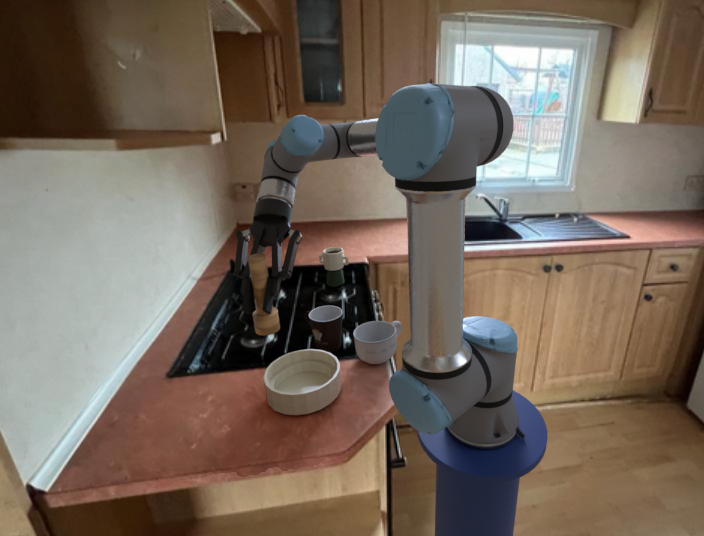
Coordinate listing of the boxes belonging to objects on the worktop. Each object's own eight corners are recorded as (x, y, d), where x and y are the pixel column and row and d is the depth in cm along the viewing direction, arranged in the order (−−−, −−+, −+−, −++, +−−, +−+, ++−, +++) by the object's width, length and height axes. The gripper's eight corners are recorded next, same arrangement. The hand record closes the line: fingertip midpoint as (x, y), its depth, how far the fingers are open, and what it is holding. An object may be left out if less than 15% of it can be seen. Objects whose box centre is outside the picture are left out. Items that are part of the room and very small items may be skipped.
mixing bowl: (355, 381, 96) (354, 360, 94) (309, 428, 82) (306, 404, 80) (301, 363, 103) (299, 342, 100) (251, 403, 89) (246, 380, 87)
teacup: (366, 375, 98) (365, 346, 95) (347, 353, 106) (345, 326, 104) (415, 356, 105) (415, 329, 102) (394, 337, 114) (393, 312, 111)
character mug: (353, 282, 148) (351, 248, 144) (346, 290, 142) (343, 255, 137) (325, 279, 151) (322, 246, 146) (317, 287, 144) (313, 252, 140)
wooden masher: (285, 326, 85) (275, 254, 79) (267, 337, 81) (256, 262, 75) (267, 321, 87) (256, 250, 81) (250, 332, 83) (237, 258, 77)
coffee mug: (350, 349, 108) (347, 315, 105) (318, 359, 104) (315, 325, 101) (333, 329, 118) (331, 298, 114) (304, 338, 113) (300, 306, 110)
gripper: (316, 214, 91) (304, 317, 81) (243, 214, 91) (222, 317, 81) (308, 196, 84) (293, 306, 74) (229, 196, 84) (204, 305, 75)
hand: (256, 311), depth 78 cm, fingers closed on wooden masher, 3 cm apart
